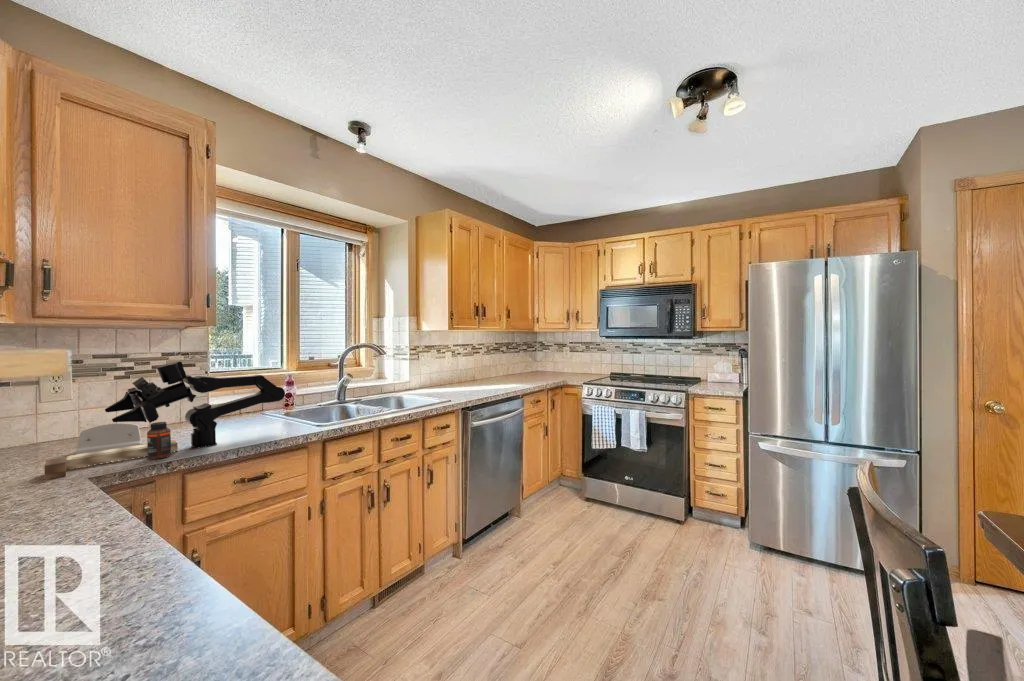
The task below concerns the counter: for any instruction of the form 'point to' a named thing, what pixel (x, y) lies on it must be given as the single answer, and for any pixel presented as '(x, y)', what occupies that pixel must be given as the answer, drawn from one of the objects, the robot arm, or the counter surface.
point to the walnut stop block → (55, 468)
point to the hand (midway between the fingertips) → (108, 415)
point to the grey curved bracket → (108, 438)
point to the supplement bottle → (159, 441)
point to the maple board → (111, 455)
